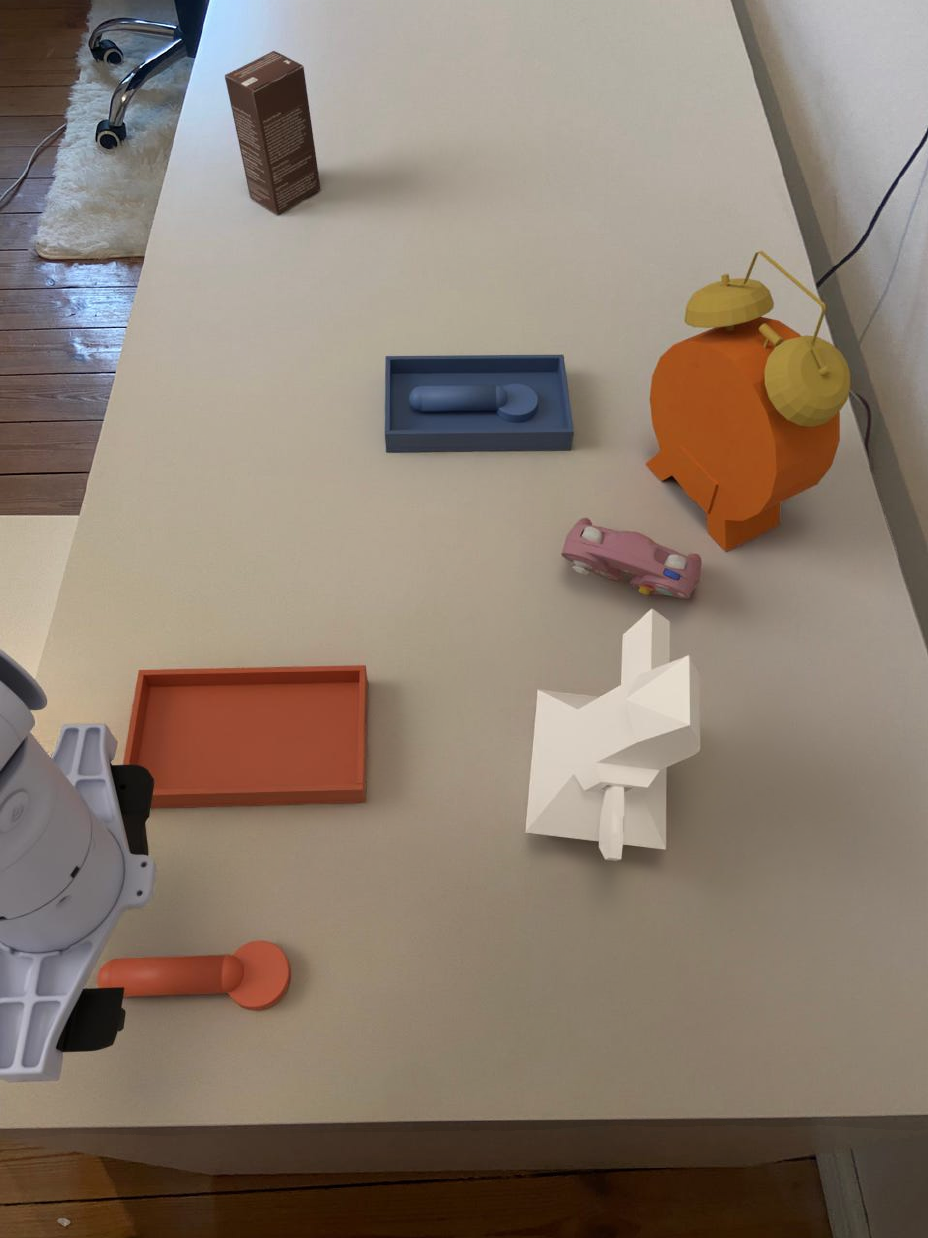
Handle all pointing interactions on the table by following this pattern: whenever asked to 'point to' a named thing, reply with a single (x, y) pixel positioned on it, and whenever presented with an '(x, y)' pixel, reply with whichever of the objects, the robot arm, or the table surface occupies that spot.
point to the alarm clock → (746, 408)
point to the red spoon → (206, 975)
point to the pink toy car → (631, 559)
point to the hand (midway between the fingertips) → (115, 940)
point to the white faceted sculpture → (615, 747)
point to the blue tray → (476, 427)
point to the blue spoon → (478, 400)
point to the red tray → (251, 735)
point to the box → (274, 130)
